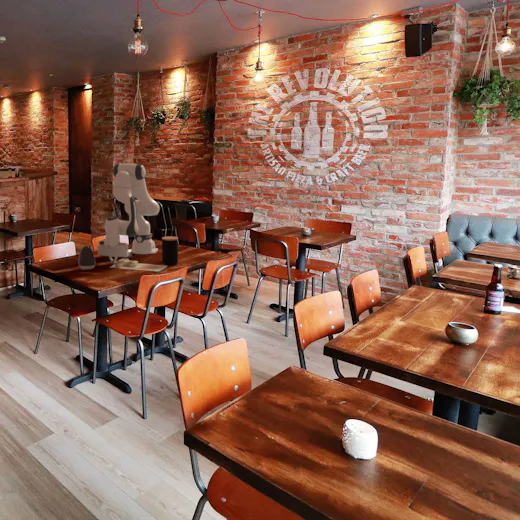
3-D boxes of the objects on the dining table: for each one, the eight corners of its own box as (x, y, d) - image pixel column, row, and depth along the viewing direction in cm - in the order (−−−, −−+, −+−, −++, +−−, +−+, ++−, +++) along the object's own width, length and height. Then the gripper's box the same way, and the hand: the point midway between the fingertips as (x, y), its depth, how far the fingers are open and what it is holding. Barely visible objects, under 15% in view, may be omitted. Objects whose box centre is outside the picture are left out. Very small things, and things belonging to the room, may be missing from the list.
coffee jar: (172, 261, 322) (172, 235, 318) (181, 264, 314) (181, 238, 310) (159, 263, 314) (158, 237, 310) (167, 266, 307) (167, 239, 303)
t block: (114, 267, 295) (114, 262, 294) (123, 262, 307) (123, 258, 306) (132, 268, 293) (132, 263, 293) (140, 264, 305) (140, 259, 304)
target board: (120, 263, 309) (120, 261, 309) (167, 267, 304) (167, 265, 304) (109, 269, 294) (109, 267, 294) (158, 273, 289) (158, 271, 289)
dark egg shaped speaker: (98, 268, 295) (98, 244, 292) (91, 272, 285) (90, 247, 282) (83, 267, 296) (82, 243, 293) (75, 271, 286) (74, 246, 283)
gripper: (130, 242, 300) (130, 262, 303) (100, 240, 303) (101, 260, 306) (125, 243, 294) (126, 265, 297) (95, 241, 297) (96, 262, 300)
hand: (113, 262), depth 301 cm, fingers closed
